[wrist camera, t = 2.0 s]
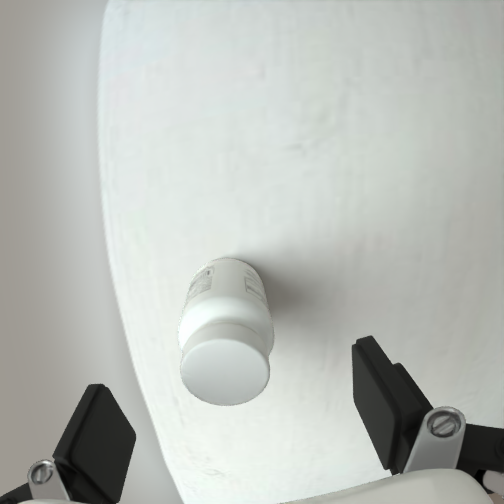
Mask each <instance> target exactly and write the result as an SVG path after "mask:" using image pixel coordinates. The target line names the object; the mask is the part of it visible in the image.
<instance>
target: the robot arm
mask: <svg viewBox="0 0 504 504" xmlns="http://www.w3.org/2000/svg"><path fill="white" fill-rule="evenodd" d="M352 366H353V398H354V402H355V405H356V408H357V410H358V412H359V414H360V416H361V419H362V421H363V423H364V425H365V427H366V430H367V432H368V434H369V436H370V439H371V441H372V443H373V445H374V448H375V450H376V452H377V454H378V457H379V459H380V461H381V463H382V466H383V468H384V469H385V470H388V469H390V471H391V474H392V476H391V477H387V478H383V479H380V480H377V481H373V482H369V483H366V484H362V485H359V486H355V487H352V488H348V489H344V490H341V491H337V492H333V493H328V494H324V495H320V496H315V497H311V498H306V499H301V500H296V501H290V502H285V503H279V504H494V503H493V502H492V500H491V498H490V497H489V496H488V494H492V493H497V494H500V495H502V496H503V497H502V499H504V429H501V428H494V427H486V426H480V425H473V424H467V423H466V419H465V417H464V415H463V414H462V413H461V412H460V411H459V410H457V409H456V408H453V407H438V408H435V409H434V408H433V407H432V405H431V404H430V403H429V401H428V400H427V398H426V397H425V396H424V394H423V393H422V391H421V390H420V389H419V387H418V386H417V384H416V383H415V382H414V380H413V379H412V377H411V376H410V375H409V373H408V372H407V371H406V369H405V368H404V367H403V365H402V364H401V363H396V364H392V363H391V361H390V360H389V359H388V357H387V356H386V354H385V353H384V352H383V350H382V349H381V347H380V346H379V345H378V343H377V342H376V340H375V339H374V338H373V336H367V337H364V338H360V339H357V340H356V344H354V345H352ZM135 441H136V434H135V431H134V430H133V428H132V426H131V425H130V423H129V421H128V420H127V418H126V417H125V415H124V414H123V412H122V410H121V409H120V407H119V405H118V403H117V402H116V400H115V398H114V397H113V395H112V393H111V391H110V390H109V388H108V387H105V385H103V384H91V385H88V387H87V389H86V390H85V393H84V394H83V396H82V398H81V400H80V402H79V404H78V406H77V407H76V410H75V412H74V413H73V415H72V417H71V419H70V421H69V423H68V425H67V427H66V429H65V431H64V433H63V435H62V437H61V439H60V441H59V443H58V445H57V447H56V449H55V451H54V454H53V458H54V459H55V461H54V463H53V462H52V461H50V460H41V461H38V462H36V463H35V464H33V465H32V466H31V467H30V469H29V471H28V475H27V477H28V483H26V484H24V485H22V486H20V487H18V488H16V489H14V490H12V491H10V492H8V493H6V494H4V495H3V496H1V497H0V504H116V503H118V502H119V501H120V497H121V494H122V490H123V486H124V482H125V478H126V474H127V470H128V467H129V463H130V459H131V455H132V452H133V448H134V444H135ZM398 473H400V474H399V475H396V474H398ZM393 475H395V476H393Z"/></svg>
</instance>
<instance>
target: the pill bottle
mask: <svg viewBox="0 0 504 504" xmlns="http://www.w3.org/2000/svg"><path fill="white" fill-rule="evenodd" d="M178 342H179V346H180V349H181V351H182V359H181V366H180V373H181V378H182V381H183V383H184V385H185V387H186V388H187V389H188V391H189V392H191V393H192V394H193V395H194V396H195V397H197V398H199V399H200V400H202V401H205V402H208V403H210V404H215V405H223V406H231V405H238V404H242V403H245V402H248V401H250V400H252V399H254V398H255V397H257V396H258V395H259V394H260V393H261V392H262V391H263V390H264V388H265V387H266V385H267V383H268V381H269V376H270V365H269V357H268V356H269V355H270V352H271V350H272V347H273V344H274V329H273V323H272V319H271V315H270V311H269V307H268V303H267V298H266V294H265V290H264V286H263V283H262V281H261V278H260V276H259V275H258V273H257V272H256V271H255V270H254V269H253V268H252V267H251V266H249V265H248V264H246V263H244V262H242V261H240V260H236V259H230V258H222V259H216V260H213V261H210V262H208V263H207V264H205V265H203V266H202V267H201V268H200V269H199V270H198V271H197V272H196V273H195V275H194V276H193V278H192V280H191V283H190V286H189V289H188V293H187V297H186V300H185V304H184V308H183V311H182V315H181V318H180V322H179V327H178Z"/></svg>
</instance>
